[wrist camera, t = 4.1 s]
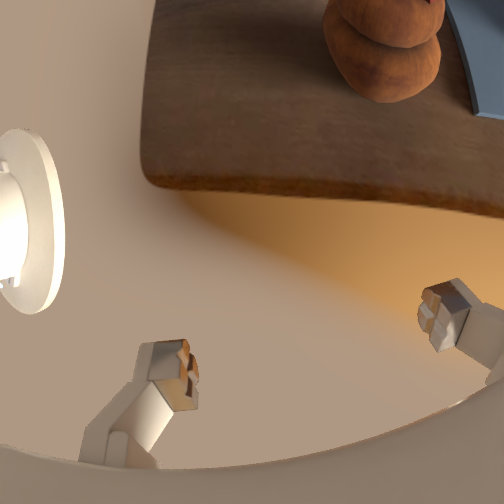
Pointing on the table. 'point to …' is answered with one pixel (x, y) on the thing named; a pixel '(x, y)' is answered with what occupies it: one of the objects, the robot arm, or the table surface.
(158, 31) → the table surface
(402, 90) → the wooden figurine
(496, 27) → the blue mat
